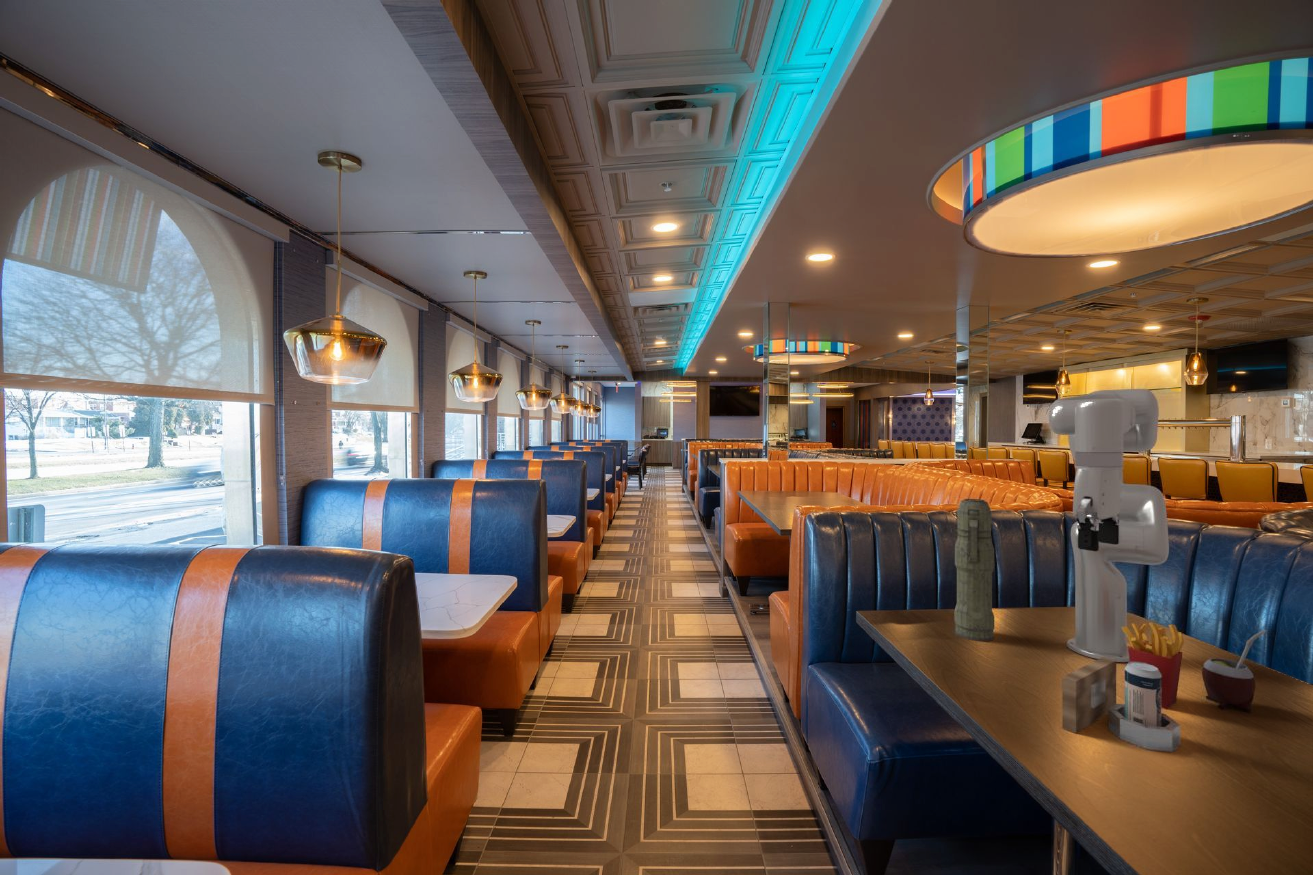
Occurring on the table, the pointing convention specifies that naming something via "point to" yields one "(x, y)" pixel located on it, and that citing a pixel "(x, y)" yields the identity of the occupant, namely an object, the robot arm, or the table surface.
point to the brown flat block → (1088, 694)
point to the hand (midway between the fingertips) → (1098, 546)
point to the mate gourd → (1230, 681)
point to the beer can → (1143, 693)
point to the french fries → (1159, 656)
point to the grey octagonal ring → (1144, 731)
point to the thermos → (974, 571)
